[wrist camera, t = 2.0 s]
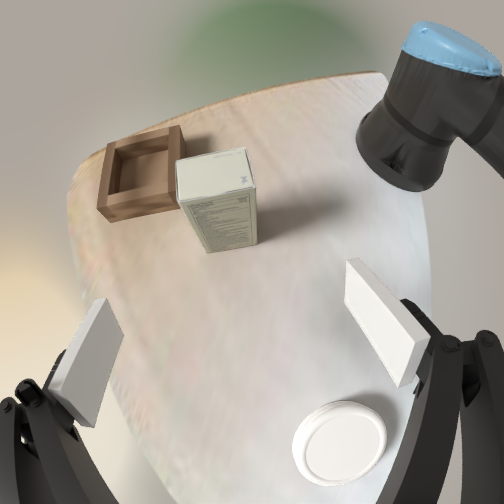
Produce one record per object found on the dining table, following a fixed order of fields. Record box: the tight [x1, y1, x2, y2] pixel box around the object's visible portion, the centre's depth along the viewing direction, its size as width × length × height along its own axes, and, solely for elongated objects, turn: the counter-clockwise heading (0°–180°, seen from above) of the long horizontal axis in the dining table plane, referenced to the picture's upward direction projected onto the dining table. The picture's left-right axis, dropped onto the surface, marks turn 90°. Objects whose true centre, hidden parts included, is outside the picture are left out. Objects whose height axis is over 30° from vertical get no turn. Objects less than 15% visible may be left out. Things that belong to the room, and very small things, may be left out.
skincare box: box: [176, 147, 257, 253], centre depth 26 cm, size 6×4×12 cm
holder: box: [97, 125, 186, 223], centre depth 33 cm, size 11×11×4 cm
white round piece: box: [292, 401, 387, 486], centre depth 22 cm, size 10×10×4 cm
